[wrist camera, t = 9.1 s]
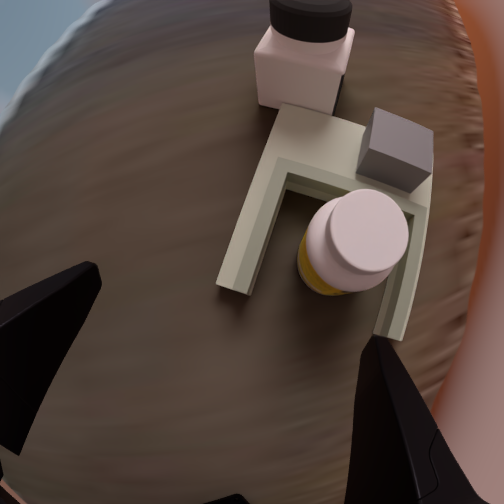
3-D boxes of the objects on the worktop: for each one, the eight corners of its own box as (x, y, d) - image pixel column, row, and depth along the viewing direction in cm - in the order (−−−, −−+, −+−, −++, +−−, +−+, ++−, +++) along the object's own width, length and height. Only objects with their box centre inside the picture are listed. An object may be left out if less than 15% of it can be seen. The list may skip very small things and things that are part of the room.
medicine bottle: (331, 125, 24) (356, 23, 13) (257, 106, 25) (246, 3, 13) (343, 77, 25) (364, -13, 14) (279, 61, 26) (276, -30, 15)
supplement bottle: (321, 310, 21) (358, 312, 12) (282, 252, 22) (288, 211, 13) (376, 270, 22) (439, 244, 12) (337, 214, 23) (375, 155, 13)
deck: (393, 339, 20) (426, 346, 15) (219, 285, 22) (201, 278, 17) (426, 161, 23) (453, 132, 17) (282, 113, 25) (282, 72, 19)
